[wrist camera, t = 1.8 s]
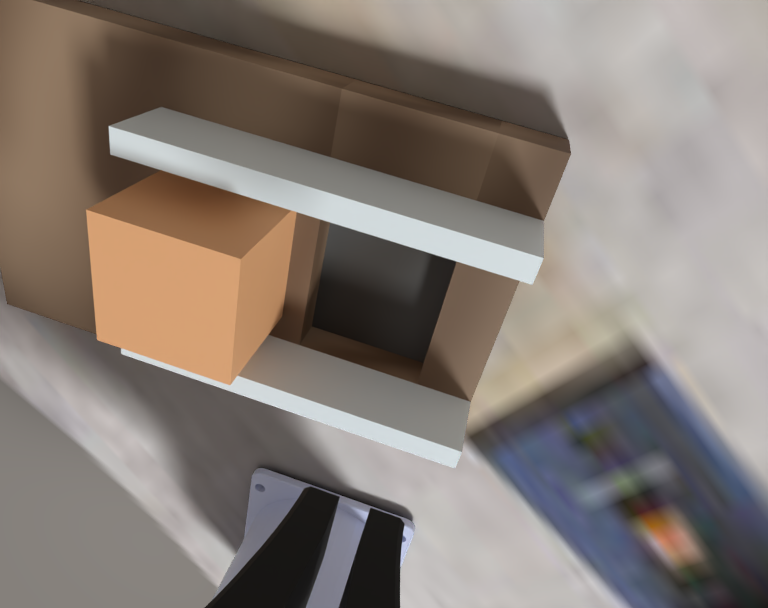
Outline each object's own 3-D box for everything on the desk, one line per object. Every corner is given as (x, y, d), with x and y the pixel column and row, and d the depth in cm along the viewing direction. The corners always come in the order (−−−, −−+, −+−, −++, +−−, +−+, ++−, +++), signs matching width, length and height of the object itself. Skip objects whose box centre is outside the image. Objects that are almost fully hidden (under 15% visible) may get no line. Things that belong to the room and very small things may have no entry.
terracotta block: (282, 316, 20) (230, 385, 17) (169, 279, 21) (97, 340, 17) (297, 204, 18) (240, 259, 15) (170, 165, 18) (85, 209, 15)
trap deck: (568, 139, 16) (571, 154, 15) (454, 427, 23) (449, 454, 22) (-13, -26, 18) (-54, -25, 17) (34, 286, 25) (6, 303, 23)
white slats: (543, 220, 16) (543, 258, 14) (464, 417, 21) (455, 468, 19) (161, 106, 17) (108, 125, 15) (162, 316, 22) (121, 353, 20)
